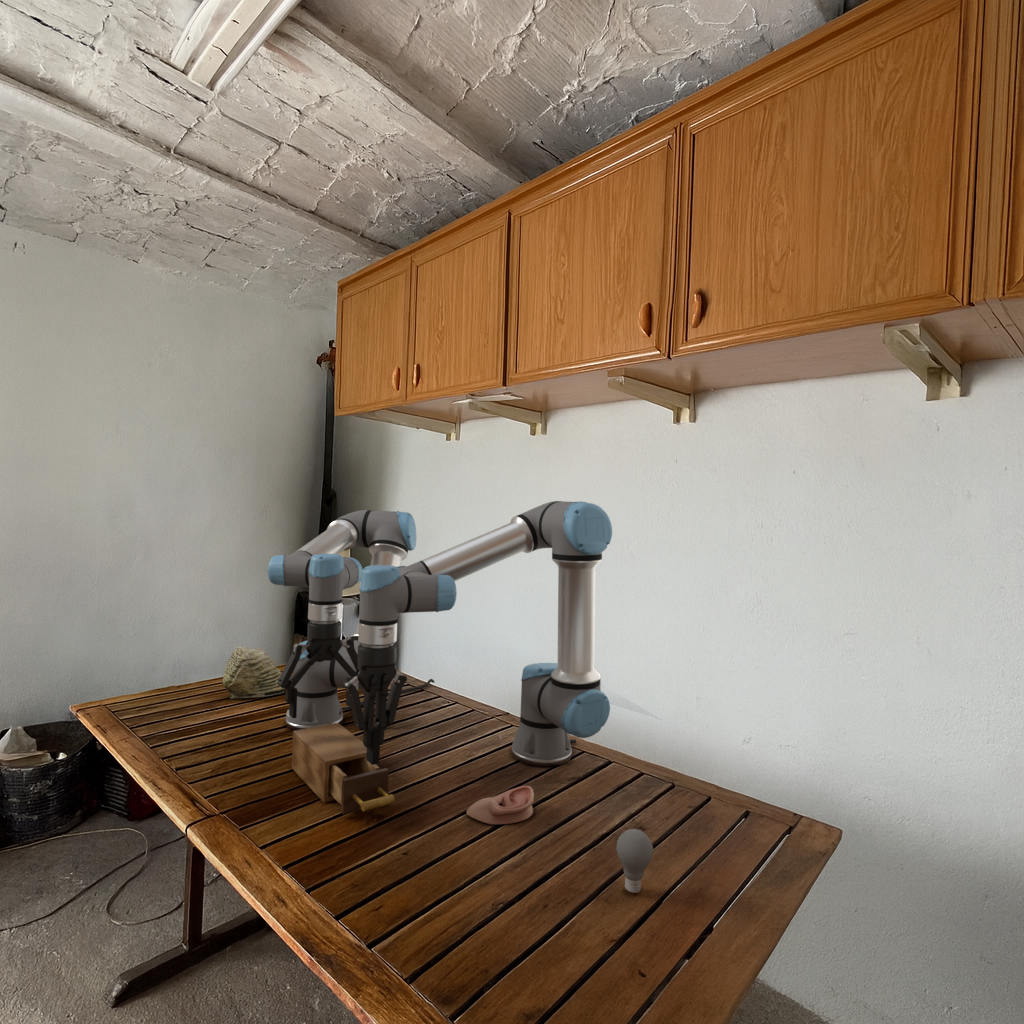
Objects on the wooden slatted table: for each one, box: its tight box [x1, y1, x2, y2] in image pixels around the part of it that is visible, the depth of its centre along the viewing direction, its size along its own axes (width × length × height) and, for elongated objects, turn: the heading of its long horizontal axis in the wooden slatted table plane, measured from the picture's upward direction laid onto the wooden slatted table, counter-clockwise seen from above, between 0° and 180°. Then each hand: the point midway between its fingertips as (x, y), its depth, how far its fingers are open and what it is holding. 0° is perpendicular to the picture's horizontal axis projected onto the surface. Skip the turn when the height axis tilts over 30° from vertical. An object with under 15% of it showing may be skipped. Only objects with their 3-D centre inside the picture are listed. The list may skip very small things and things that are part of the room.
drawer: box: [329, 757, 395, 815], centre depth 133 cm, size 25×10×7 cm, turn 38°
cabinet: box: [291, 723, 367, 804], centre depth 142 cm, size 20×11×9 cm, turn 38°
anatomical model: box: [465, 785, 535, 825], centre depth 130 cm, size 13×4×12 cm
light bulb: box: [615, 828, 654, 894], centre depth 106 cm, size 6×6×10 cm
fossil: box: [222, 646, 286, 699], centre depth 198 cm, size 9×18×15 cm, turn 132°
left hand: (321, 711), depth 148 cm, fingers open, 13 cm apart
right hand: (372, 761), depth 126 cm, fingers closed
